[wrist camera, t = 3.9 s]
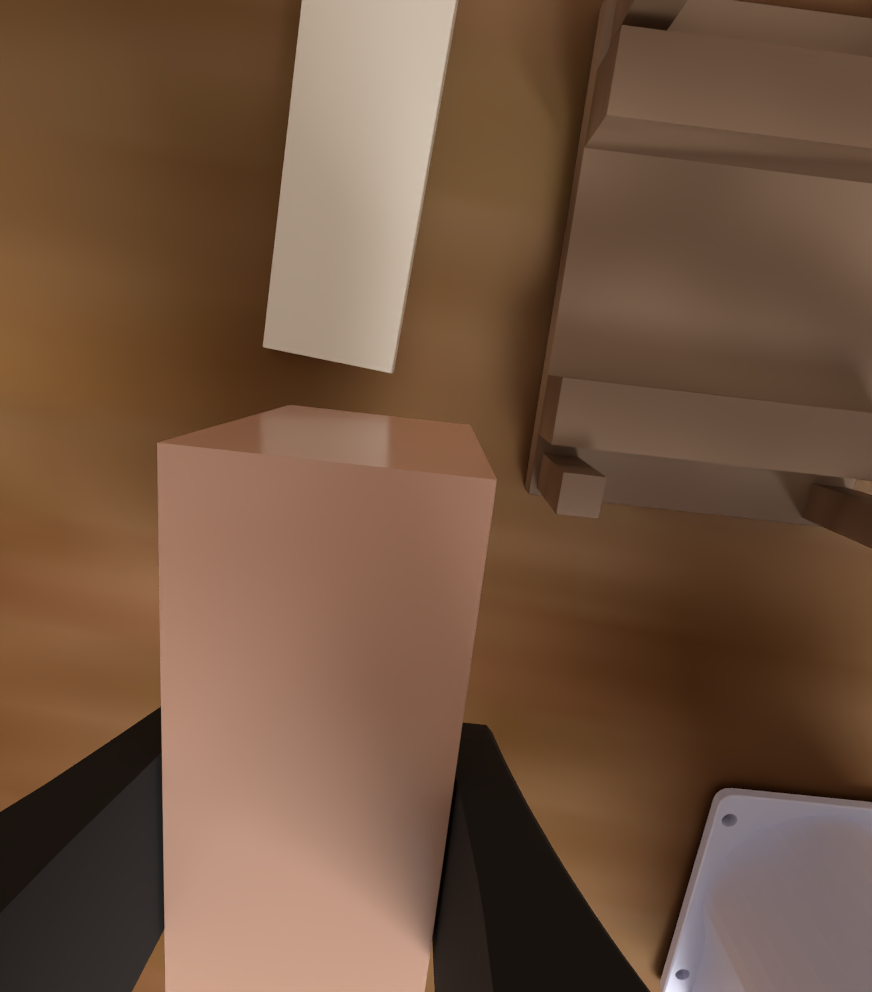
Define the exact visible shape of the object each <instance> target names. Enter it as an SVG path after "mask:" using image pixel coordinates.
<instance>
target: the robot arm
mask: <svg viewBox="0 0 872 992" xmlns="http://www.w3.org/2000/svg"><path fill="white" fill-rule="evenodd" d="M727 814H729V815H728V816H726V817H724V816H725V815H727ZM164 928H165V925H164V860H163V796H162V731H161V707H160V708H158V709H157V710H155V711H154V712H152V713H151V714H149V715H148V716H146V717H145V718H144V719H142V720H141V721H139V722H138V723H136V724H135V725H133V726H132V727H130V728H129V729H127V730H126V731H125V732H123V733H122V734H120V735H119V736H117V737H116V738H114V739H113V740H111V741H110V742H108V743H107V744H105V745H104V746H102V747H101V748H99V749H98V750H96V751H95V752H93V753H92V754H90V755H89V756H87V757H86V758H84V759H83V760H81V761H80V762H78V763H77V764H75V765H74V766H72V767H71V768H69V769H68V770H66V771H65V772H63V773H62V774H60V775H59V776H57V777H56V778H54V779H53V780H51V781H50V782H48V783H47V784H45V785H43V786H42V787H40V788H39V789H37V790H35V791H34V792H32V793H31V794H29V795H27V796H26V797H24V798H22V799H21V800H19V801H18V802H16V803H14V804H13V805H11V806H9V807H8V808H6V809H5V810H3V811H1V812H0V992H132V990H133V988H134V986H135V984H136V982H137V980H138V979H139V977H140V975H141V973H142V971H143V969H144V967H145V965H146V963H147V961H148V959H149V957H150V955H151V954H152V952H153V950H154V948H155V946H156V944H157V942H158V940H159V938H160V936H161V934H162V932H163V930H164ZM432 942H433V963H434V984H435V992H650V991H649V989H648V988H647V987H646V985H645V984H644V983H643V981H642V980H641V979H640V977H639V976H638V975H637V973H636V972H635V970H634V969H633V968H632V966H631V965H630V964H629V962H628V961H627V960H626V958H625V957H624V955H623V954H622V953H621V951H620V950H619V948H618V947H617V946H616V944H615V943H614V941H613V940H612V939H611V937H610V936H609V934H608V933H607V931H606V930H605V928H604V927H603V925H602V924H601V923H600V921H599V920H598V918H597V917H596V915H595V914H594V912H593V911H592V909H591V908H590V906H589V905H588V903H587V901H586V900H585V898H584V897H583V895H582V894H581V892H580V891H579V889H578V888H577V886H576V885H575V883H574V882H573V880H572V879H571V877H570V875H569V874H568V872H567V870H566V869H565V867H564V866H563V864H562V862H561V861H560V859H559V858H558V856H557V854H556V853H555V851H554V849H553V848H552V846H551V844H550V842H549V841H548V839H547V837H546V836H545V834H544V832H543V830H542V829H541V827H540V825H539V823H538V822H537V820H536V818H535V817H534V815H533V813H532V811H531V810H530V808H529V806H528V804H527V802H526V800H525V799H524V797H523V795H522V793H521V791H520V789H519V787H518V785H517V783H516V782H515V780H514V778H513V776H512V774H511V772H510V770H509V768H508V766H507V764H506V762H505V760H504V758H503V755H502V753H501V751H500V749H499V747H498V745H497V742H496V740H495V738H494V736H493V733H492V732H491V730H490V729H489V728H488V727H487V725H480V724H471V723H462V730H461V737H460V744H459V752H458V759H457V766H456V773H455V780H454V787H453V794H452V801H451V808H450V815H449V822H448V829H447V836H446V843H445V850H444V858H443V865H442V872H441V879H440V886H439V893H438V900H437V907H436V914H435V921H434V928H433V935H432ZM660 989H661V992H872V802H865V801H856V800H846V799H836V798H826V797H816V796H806V795H796V794H786V793H777V792H767V791H757V790H747V789H737V788H725V789H722V790H720V791H719V792H717V793H716V795H715V796H714V798H713V801H712V805H711V808H710V812H709V815H708V819H707V822H706V825H705V829H704V832H703V836H702V839H701V843H700V846H699V849H698V853H697V856H696V860H695V863H694V867H693V870H692V874H691V877H690V880H689V884H688V887H687V891H686V894H685V898H684V901H683V904H682V908H681V911H680V915H679V918H678V922H677V925H676V929H675V932H674V935H673V939H672V942H671V946H670V949H669V953H668V956H667V959H666V963H665V966H664V970H663V973H662V977H661V980H660Z"/></svg>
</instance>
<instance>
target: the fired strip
mask: <svg viewBox="0 0 872 992" xmlns="http://www.w3.org/2000/svg"><path fill="white" fill-rule="evenodd" d="M458 1H459V0H302V5H301V14H300V22H299V31H298V40H297V49H296V58H295V67H294V75H293V84H292V93H291V102H290V111H289V119H288V128H287V137H286V146H285V155H284V164H283V172H282V181H281V190H280V199H279V208H278V217H277V225H276V234H275V243H274V252H273V261H272V269H271V278H270V287H269V296H268V305H267V314H266V322H265V331H264V340H263V347H265V348H270V349H275V350H280V351H284V352H289V353H294V354H299V355H304V356H309V357H314V358H319V359H324V360H329V361H334V362H339V363H343V364H348V365H353V366H358V367H363V368H368V369H373V370H378V371H383V372H388V373H394V368H395V362H396V356H397V351H398V345H399V339H400V333H401V328H402V322H403V316H404V310H405V305H406V299H407V293H408V287H409V282H410V276H411V270H412V265H413V259H414V253H415V247H416V242H417V236H418V230H419V224H420V219H421V213H422V207H423V202H424V196H425V190H426V184H427V179H428V173H429V167H430V161H431V156H432V150H433V144H434V138H435V133H436V127H437V121H438V116H439V110H440V104H441V98H442V93H443V87H444V81H445V75H446V70H447V64H448V58H449V52H450V47H451V41H452V35H453V30H454V24H455V18H456V12H457V7H458Z"/></svg>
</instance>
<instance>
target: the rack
mask: <svg viewBox="0 0 872 992" xmlns="http://www.w3.org/2000/svg"><path fill="white" fill-rule="evenodd" d="M857 479H860V480H869V481H872V18H865V17H857V16H849V15H842V14H834V13H827V12H819V11H811V10H804V9H796V8H788V7H781V6H773V5H765V4H758V3H750V2H743V1H735V0H603V2H602V4H601V7H600V13H599V19H598V26H597V32H596V38H595V45H594V51H593V57H592V64H591V70H590V76H589V83H588V89H587V95H586V102H585V108H584V114H583V121H582V127H581V133H580V140H579V146H578V152H577V159H576V165H575V171H574V178H573V184H572V190H571V197H570V203H569V209H568V216H567V222H566V228H565V235H564V241H563V247H562V254H561V260H560V266H559V273H558V279H557V285H556V292H555V298H554V304H553V311H552V317H551V323H550V330H549V336H548V342H547V349H546V355H545V361H544V368H543V374H542V380H541V387H540V393H539V399H538V406H537V412H536V418H535V425H534V431H533V437H532V444H531V450H530V456H529V463H528V469H527V475H526V482H525V489H526V490H527V492H528V494H532V495H541V496H543V497H544V498H545V499H546V501H547V502H548V503H549V505H550V506H551V507H552V509H553V510H554V512H555V513H556V514H561V515H570V516H579V517H588V518H597V519H599V514H600V508H601V503H602V502H604V503H613V504H622V505H631V506H640V507H649V508H658V509H667V510H676V511H685V512H694V513H703V514H712V515H721V516H730V517H739V518H748V519H757V520H766V521H775V522H784V523H793V524H802V525H811V526H819V527H824V528H827V529H829V530H831V531H833V532H836V533H838V534H840V535H843V536H845V537H847V538H849V539H852V540H854V541H856V542H858V543H861V544H863V545H865V546H868V547H870V548H872V495H869V494H866V493H863V492H860V491H856V490H854V487H855V484H856V480H857Z"/></svg>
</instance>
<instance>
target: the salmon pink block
mask: <svg viewBox="0 0 872 992" xmlns="http://www.w3.org/2000/svg"><path fill="white" fill-rule="evenodd" d="M157 471H158V536H159V601H160V666H161V731H162V796H163V860H164V925H165V990H166V992H425V985H426V978H427V971H428V963H429V956H430V949H431V942H432V935H433V928H434V921H435V914H436V907H437V900H438V893H439V886H440V879H441V872H442V865H443V858H444V850H445V843H446V836H447V829H448V822H449V815H450V808H451V801H452V794H453V787H454V780H455V773H456V766H457V759H458V752H459V744H460V737H461V730H462V723H463V716H464V709H465V702H466V695H467V688H468V681H469V674H470V667H471V660H472V653H473V646H474V639H475V631H476V624H477V617H478V610H479V603H480V596H481V589H482V582H483V575H484V568H485V561H486V554H487V547H488V540H489V533H490V526H491V518H492V511H493V504H494V497H495V490H496V483H497V479H496V477H495V475H494V473H493V471H492V469H491V467H490V465H489V462H488V460H487V458H486V456H485V454H484V452H483V450H482V448H481V446H480V444H479V442H478V440H477V438H476V436H475V433H474V431H473V429H472V427H471V425H466V424H457V423H448V422H439V421H430V420H421V419H413V418H404V417H395V416H386V415H377V414H368V413H359V412H350V411H341V410H332V409H323V408H314V407H305V406H297V405H287V406H284V407H280V408H277V409H273V410H270V411H266V412H263V413H259V414H256V415H252V416H249V417H245V418H242V419H238V420H235V421H231V422H227V423H224V424H220V425H217V426H213V427H210V428H206V429H203V430H199V431H196V432H192V433H189V434H185V435H182V436H178V437H175V438H171V439H168V440H164V441H161V442H157Z"/></svg>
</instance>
